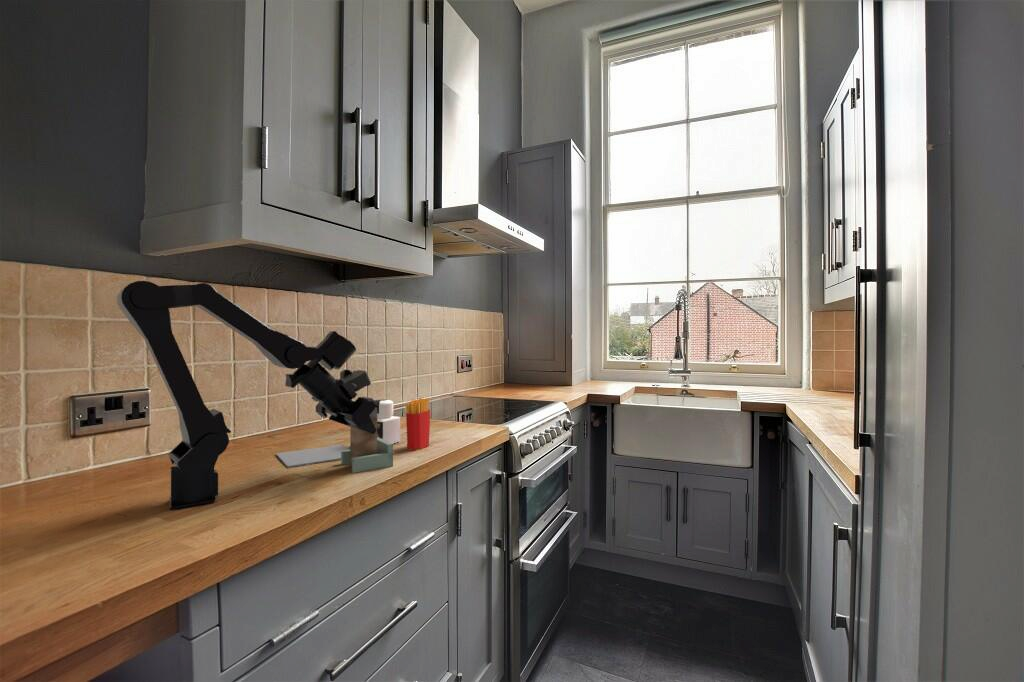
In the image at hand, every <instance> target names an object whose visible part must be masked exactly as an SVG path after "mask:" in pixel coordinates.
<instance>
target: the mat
mask: <svg viewBox="0 0 1024 682" xmlns="http://www.w3.org/2000/svg"><path fill="white" fill-rule="evenodd" d="M344 450H350V448H348V447H347V446H344V445H343V444H338V445H337V444H336V445H331V446H322V447H314V448H308V449H307V448H306V449H300V450H291V451H285V452H284V451H283V452H276V453H275V456H276V455H277V456H278V457H279V458H278V457H277V456H276V457H277V458H278V459H279V460H280V461H281V462H282V463H283V464H284V466H286V468H287V469H289V467H291V468H297V467H302V466H301V465H304V466H308V465H307V464H310V465H315V464H314V463H317V464H322V463H321V462H323V463H328V462H327V461H330V462H335V460H337V461H341V451H344ZM296 466H297V467H296Z"/></svg>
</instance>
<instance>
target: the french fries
mask: <svg viewBox="0 0 1024 682" xmlns="http://www.w3.org/2000/svg"><path fill="white" fill-rule="evenodd" d="M429 401H430V399H429V398H423V397H420V398H418V399H412V400H411V401H410V403H409V402H407V403H405V409H406V412H405V418H406V421H405V422H406V445H407V447H406V448H407V450H408V449H412V450H411V451H417V450H416V449H420V450H423V449H425V448H427V447H426V446H428V445H429V446H430V426H431V409H429V404H430V403H429ZM429 446H428V447H429ZM424 447H425V448H424ZM422 448H423V449H422Z"/></svg>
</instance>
